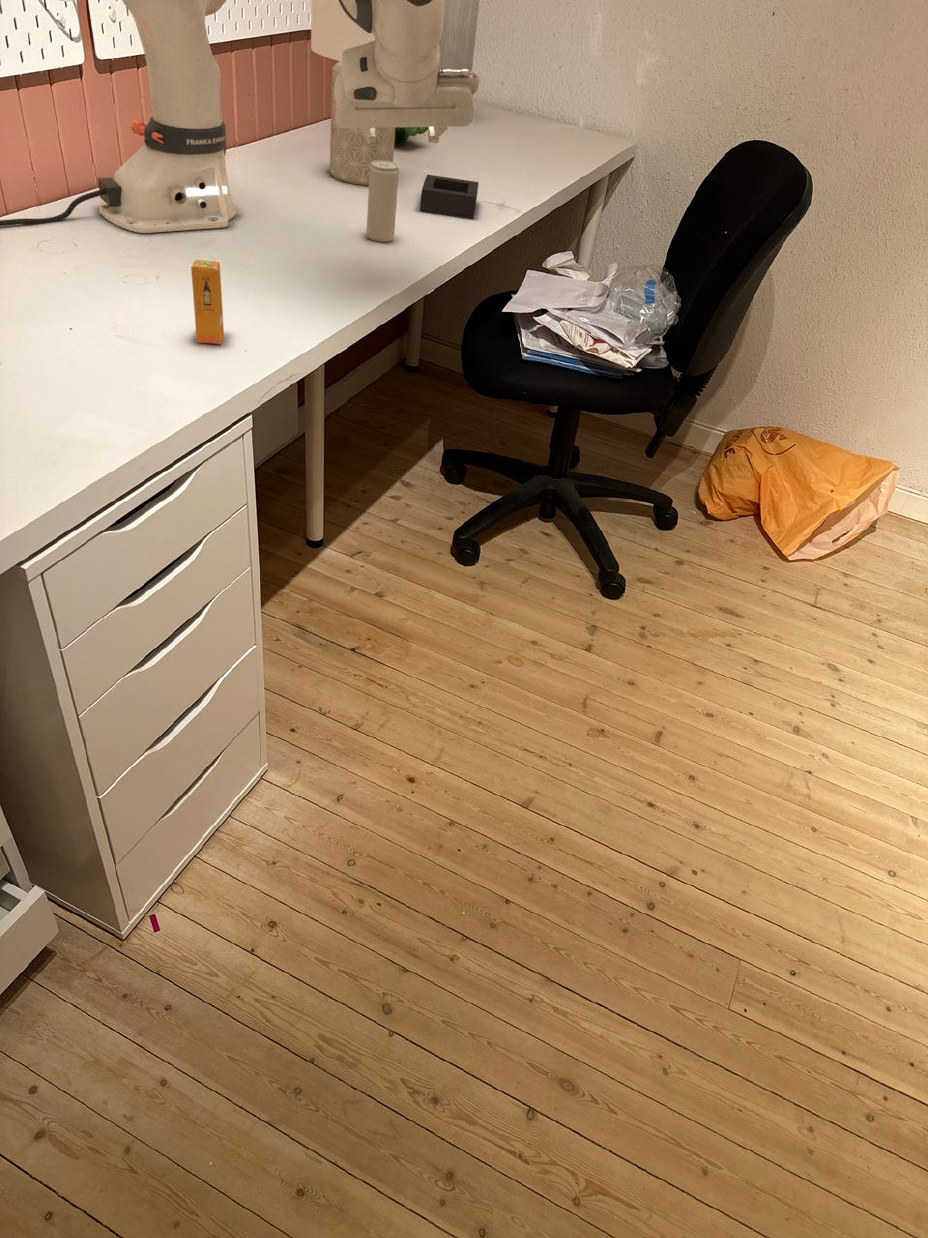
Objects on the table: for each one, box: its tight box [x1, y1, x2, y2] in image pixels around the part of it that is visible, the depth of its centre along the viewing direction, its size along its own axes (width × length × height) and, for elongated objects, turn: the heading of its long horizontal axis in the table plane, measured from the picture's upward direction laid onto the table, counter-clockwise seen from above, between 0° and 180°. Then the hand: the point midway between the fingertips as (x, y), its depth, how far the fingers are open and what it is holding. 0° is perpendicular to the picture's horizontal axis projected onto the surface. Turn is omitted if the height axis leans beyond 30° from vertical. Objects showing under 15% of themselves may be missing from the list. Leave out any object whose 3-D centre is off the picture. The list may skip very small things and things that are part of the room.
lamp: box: [310, 0, 395, 186], centre depth 174 cm, size 21×21×42 cm
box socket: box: [419, 174, 479, 220], centre depth 177 cm, size 10×10×4 cm
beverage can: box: [366, 160, 400, 243], centre depth 157 cm, size 5×5×12 cm
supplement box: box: [190, 259, 225, 345], centre depth 120 cm, size 3×3×10 cm
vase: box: [438, 0, 480, 72], centre depth 226 cm, size 10×10×27 cm
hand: (402, 139), depth 140 cm, fingers open, 8 cm apart
